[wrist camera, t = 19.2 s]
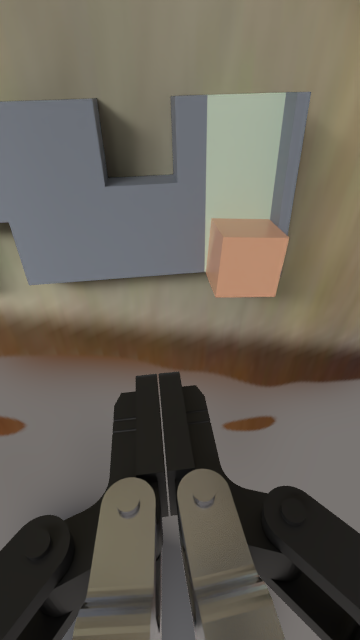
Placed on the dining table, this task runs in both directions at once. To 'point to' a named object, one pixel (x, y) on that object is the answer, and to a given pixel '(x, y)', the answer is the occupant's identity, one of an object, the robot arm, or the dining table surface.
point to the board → (143, 184)
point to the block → (245, 257)
